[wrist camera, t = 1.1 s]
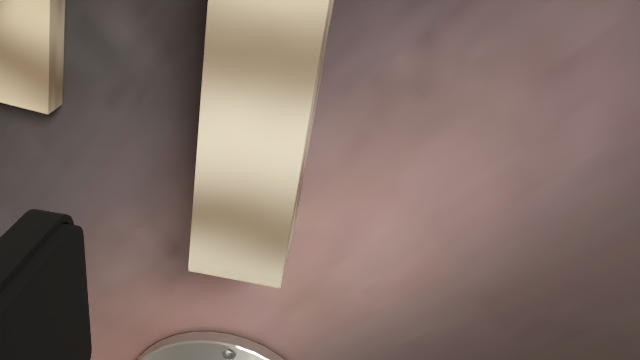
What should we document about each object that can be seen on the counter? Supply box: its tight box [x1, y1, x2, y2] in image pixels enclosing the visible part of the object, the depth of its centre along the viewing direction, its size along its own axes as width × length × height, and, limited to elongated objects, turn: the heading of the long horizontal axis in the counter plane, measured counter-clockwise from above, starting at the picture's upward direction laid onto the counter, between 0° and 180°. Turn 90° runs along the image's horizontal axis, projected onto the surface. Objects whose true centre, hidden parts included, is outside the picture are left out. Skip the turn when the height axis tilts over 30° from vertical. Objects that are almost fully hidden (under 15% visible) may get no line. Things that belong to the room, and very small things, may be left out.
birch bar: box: [188, 0, 334, 288], centre depth 25 cm, size 22×4×6 cm, turn 170°
